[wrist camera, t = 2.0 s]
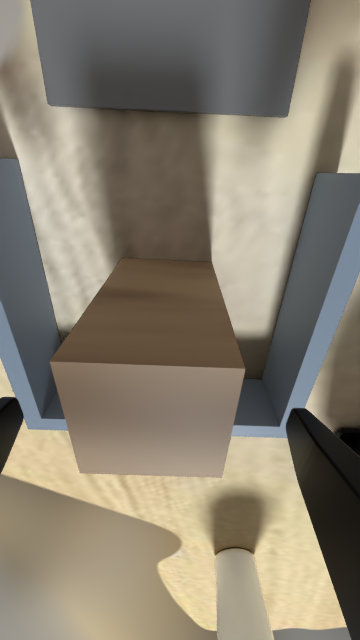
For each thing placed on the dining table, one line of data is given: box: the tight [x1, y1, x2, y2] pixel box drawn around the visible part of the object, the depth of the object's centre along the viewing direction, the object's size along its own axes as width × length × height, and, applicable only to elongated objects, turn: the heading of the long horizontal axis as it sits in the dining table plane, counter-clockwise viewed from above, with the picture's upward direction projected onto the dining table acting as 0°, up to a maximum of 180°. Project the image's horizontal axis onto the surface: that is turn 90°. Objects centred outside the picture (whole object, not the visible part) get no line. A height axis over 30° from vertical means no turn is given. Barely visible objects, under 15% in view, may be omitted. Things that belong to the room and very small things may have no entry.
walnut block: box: [50, 258, 245, 478], centre depth 12 cm, size 5×5×9 cm
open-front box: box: [0, 158, 360, 438], centre depth 14 cm, size 14×16×4 cm
